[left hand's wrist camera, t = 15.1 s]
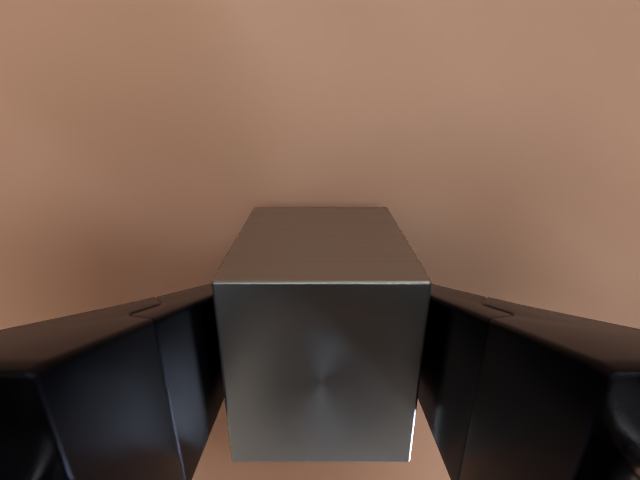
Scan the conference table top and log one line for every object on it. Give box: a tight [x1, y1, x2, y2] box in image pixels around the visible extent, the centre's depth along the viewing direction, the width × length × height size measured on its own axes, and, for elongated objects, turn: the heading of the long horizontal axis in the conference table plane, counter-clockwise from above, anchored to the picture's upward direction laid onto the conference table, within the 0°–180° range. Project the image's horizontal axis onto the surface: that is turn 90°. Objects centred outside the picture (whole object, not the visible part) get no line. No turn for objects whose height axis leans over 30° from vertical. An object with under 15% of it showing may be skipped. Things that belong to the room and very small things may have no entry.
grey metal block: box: [211, 207, 432, 462], centre depth 10 cm, size 5×4×5 cm
